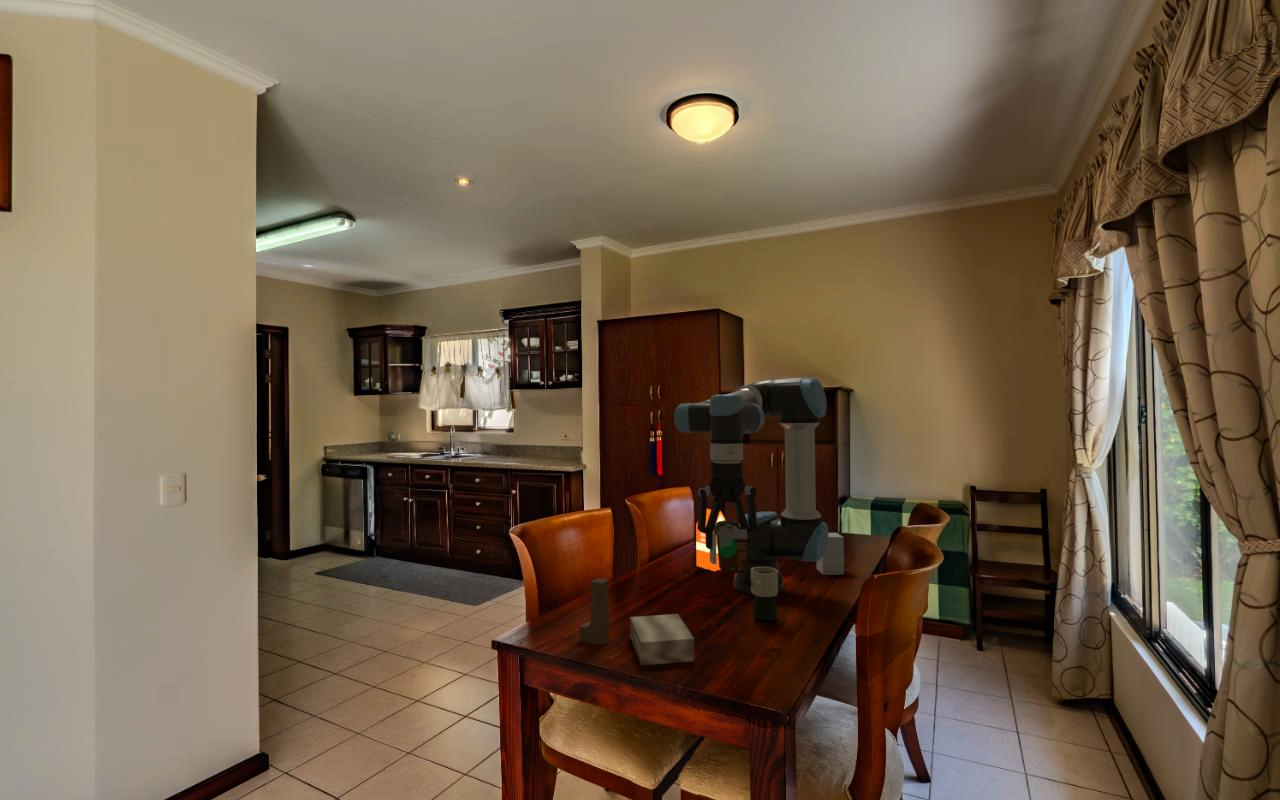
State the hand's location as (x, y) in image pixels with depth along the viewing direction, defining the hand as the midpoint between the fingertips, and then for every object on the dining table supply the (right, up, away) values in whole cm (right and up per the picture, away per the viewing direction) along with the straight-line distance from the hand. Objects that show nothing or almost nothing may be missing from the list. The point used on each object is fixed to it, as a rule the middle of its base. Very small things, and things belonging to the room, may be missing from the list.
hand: (727, 561), depth 138 cm
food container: (0, -2, 0) cm, 2 cm away
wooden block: (-31, -21, +7) cm, 39 cm away
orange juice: (+5, -22, +73) cm, 76 cm away
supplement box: (+44, -21, +65) cm, 82 cm away
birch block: (-15, -21, +3) cm, 26 cm away
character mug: (+13, -21, +22) cm, 33 cm away
